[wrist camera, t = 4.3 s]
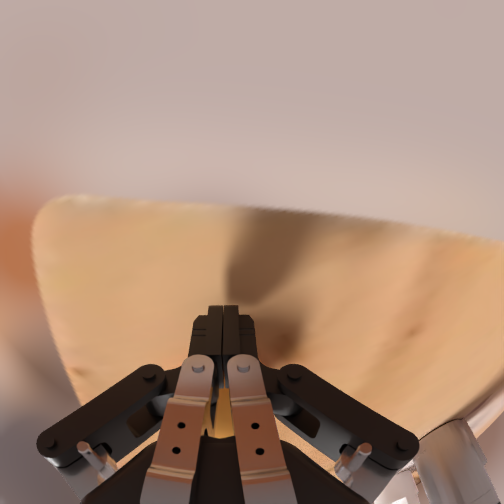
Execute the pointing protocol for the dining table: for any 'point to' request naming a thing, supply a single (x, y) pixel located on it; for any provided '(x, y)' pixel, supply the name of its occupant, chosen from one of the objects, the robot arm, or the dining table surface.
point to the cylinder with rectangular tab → (399, 490)
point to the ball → (224, 415)
